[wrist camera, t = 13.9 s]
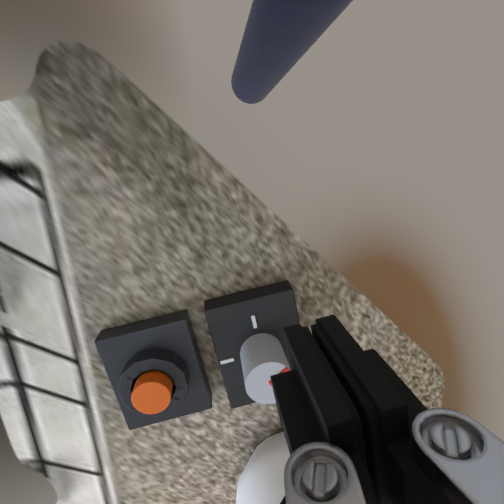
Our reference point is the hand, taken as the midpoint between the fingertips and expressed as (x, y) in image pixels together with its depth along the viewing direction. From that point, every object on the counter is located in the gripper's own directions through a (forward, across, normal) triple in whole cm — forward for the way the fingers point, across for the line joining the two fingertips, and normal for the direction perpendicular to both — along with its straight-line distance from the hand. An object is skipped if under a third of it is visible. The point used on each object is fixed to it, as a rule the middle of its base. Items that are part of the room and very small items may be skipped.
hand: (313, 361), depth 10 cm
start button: (+20, +12, +13) cm, 26 cm away
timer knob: (+21, +1, +13) cm, 24 cm away
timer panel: (+23, +1, +13) cm, 27 cm away
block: (+23, +12, +13) cm, 29 cm away
